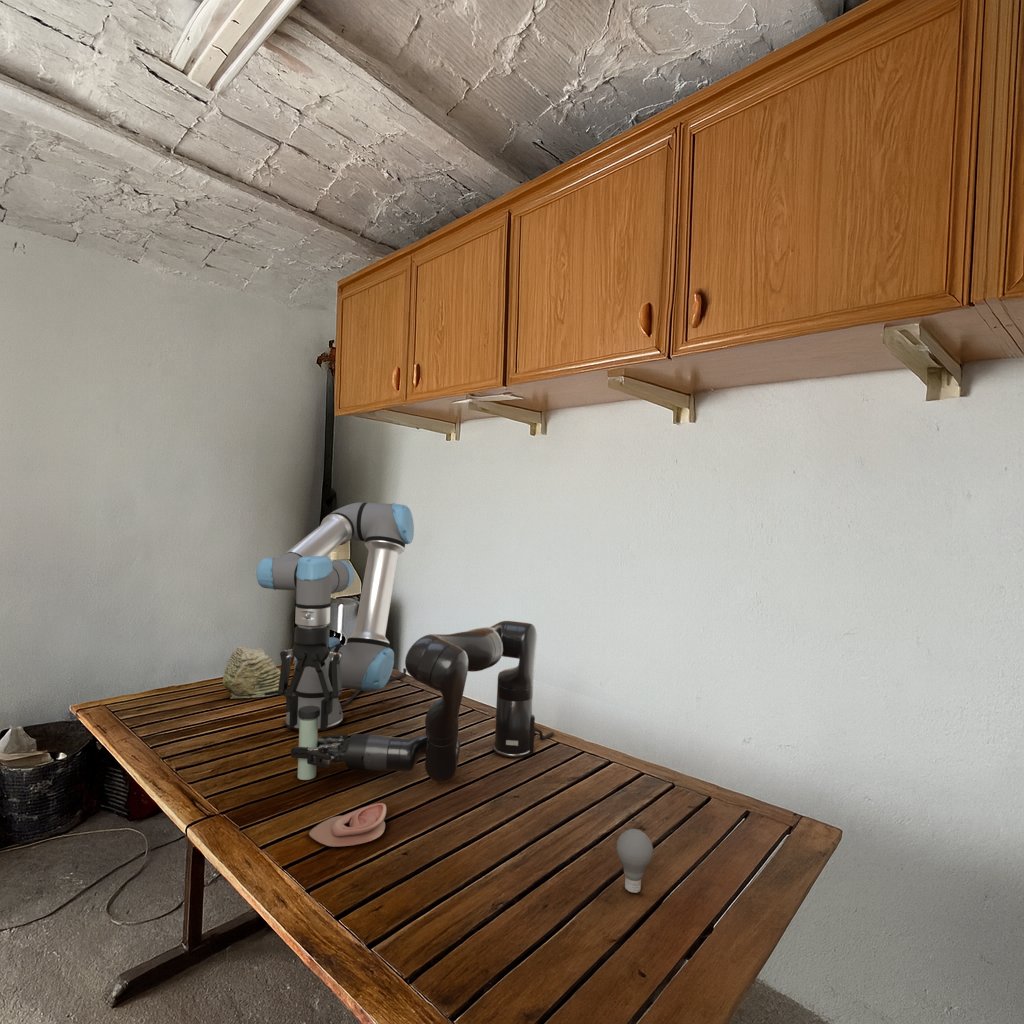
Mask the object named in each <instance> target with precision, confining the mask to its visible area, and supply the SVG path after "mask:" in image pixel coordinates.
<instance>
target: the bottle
mask: <svg viewBox="0 0 1024 1024" xmlns="http://www.w3.org/2000/svg"><path fill="white" fill-rule="evenodd" d="M318 733H319V731H318V717H317V718H314V719H301V718H300V723H299V731H298V747H309V748H310V747H311V748H312V747H317V739H318V738H319V736H318V735H319V734H318ZM315 752H318V751H315ZM315 761H316V760H315ZM316 777H317V766H315V765H311V764H307V758H297V779H299V780H301V781H309V780H313V779H315V778H316Z"/></svg>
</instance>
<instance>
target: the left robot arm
mask: <svg viewBox="0 0 1024 1024" xmlns="http://www.w3.org/2000/svg"><path fill="white" fill-rule="evenodd" d="M413 517H414V516H413V514H412V511H411V509H410V507H408V505H406V504H400V503H399V504H398V503H394V502H393V503H385V502H383V503H382V502H362V501H361V502H354V503H350V504H349V503H348V504H346V505H344V506H341V507H339V508H337V509H335V510H333V511H332V512H330V513H329V514H327V515H325V517H323V519H322V521H321V522H320V525H319V526H318V527H316V528H315V529H314V530H312V531H311V532H310V533H309V534H308V535H306V536H305V537H304V538H302V539H301V540H300V541H299V542H297V543H296V544H295V545H294V546H292V547H291V548H290V549H289V550H287V551H285V552H284V553H283V554H282V555H281V556H279V557H264V558H263V559H261V560H260V561H259V563H258V565H257V567H256V573H255V574H256V581H257V583H258V585H259V586H260V587H261V588H263V589H270V590H273V591H276V590H280V591H296V592H295V593H296V594H295V614H294V615H295V618H294V620H295V621H294V623H295V625H296V626H295V627H294V645H293V647H292V648H291V649H288V648H285V649H284V650H281V651H280V653H279V656H280V661H281V663H280V680H279V688H278V694H277V695H279V696H283V697H285V700H286V701H285V710H286V712H287V713H286V715H285V726H286V728H287V729H289V730H291V731H294V732H295V731H296V732H299V723H300V718H299V717H298V711H299V708H301V707H304V706H317V707H319V708H320V716H319V717H318V732H325V731H329V730H332V729H335V728H337V727H339V726H340V725H342V723H343V722H344V714H343V709H342V707H344V706H346V705H348V704H349V703H350V702H352V700H354V699H355V698H356V697H357V696H358V694H359V693H361V692H368V691H369V692H377V691H378V692H379V691H381V690H382V689H384V687H385V686H386V685H387V684H388V683H389V682H392V681H396V680H399V679H402V678H404V677H405V676H406V674H407V673H408V672H407V670H406V667H404V668H403V669H402V670H403V671H402V674H400V675H396V676H393V677H391V675H392V673H393V670H394V664H395V652H394V650H393V649H392V648H391V647H390V641H389V639H387V637H386V632H387V628H388V620H389V614H390V609H391V602H392V596H393V591H394V583H395V577H396V571H397V566H398V559H399V556H400V554H401V555H402V553H403V552H405V549H406V545H410V544H412V542H413V540H414V536H415V525H414V518H413ZM355 541H356V542H364V546H365V548H366V549H367V550H368V554H367V559H366V565H365V569H364V575H363V581H362V586H361V587H362V589H361V592H360V598H359V604H358V609H357V615H356V621H355V625H354V626H355V627H354V632H352V633H351V634H350V635H349V636H348V637H347V639H346V644H341V641H340V639H339V638H338V637H334V636H331V637H330V632H331V628H330V626H329V624H330V623H331V606H332V605H331V602H332V595H334V594H336V593H341V592H344V591H345V590H346V589H349V588H350V587H351V586H352V584H353V582H354V580H355V571H354V568H353V567H352V565H351V564H350V563H349V562H347V561H345V560H338V559H337V560H336V559H333V560H332V559H331V558H330V557H329V555H330V554H331V553H332V552H333V551H334V550H335V549H337V548H338V547H339V546H343V545H346V544H347V543H349V542H355ZM293 657H294V659H293V661H294V672H293V675H292V677H291V680H290V672H291V665H292V658H293ZM289 680H290V683H289ZM343 689H345V690H356V691H355V692H354V693H353V694H352V695H351V696H350V697H349V698H347V699H346V700H345V701H343V702H340V699H339V697H340V696H341V695H342V693H343V691H342V690H343Z"/></svg>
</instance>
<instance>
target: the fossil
mask: <svg viewBox="0 0 1024 1024" xmlns="http://www.w3.org/2000/svg"><path fill="white" fill-rule="evenodd" d="M280 672H281V669H279V668H278V667H277V665H276V663H275V662H274V660H273V659H272V658H271V657H270V656H269V655H268V654H267V653H266V652H265V650H264V649H263V648H260V647H258V648H251V647H247V646H246V647H245V646H238V647H237V648H236V649H235V650H233V651H232V653H231V656H230V657H229V659H228V660H227V663H226V666H225V668H224V671H223V675H222V676H223V677H222V685H223V687H224V688H225V690H226V691H228V693H229V698H230V699H250V698H264V697H271V696H275V695H279V694H278V688H279V680H280Z"/></svg>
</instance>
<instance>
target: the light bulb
mask: <svg viewBox="0 0 1024 1024" xmlns="http://www.w3.org/2000/svg"><path fill="white" fill-rule="evenodd" d="M615 849H616V854H617V857H618V859H619V861H620V863H621V865H622V867H623V873H624V874H623V875H624V876H625V878H624V888H625V890H627V891H628V892H630V893H634V894H635V893H639V892H640V891H641V889H642V887H641V886H642V879H643V877H644V875H645V871H646V868H647V867H648V866H649V864H650V863H651V861H652V859H653V855H654V847H653V843H652V841H651V838H649V836H648V835H647V834H646V833H645V832H643V831H642V830H641V829H636V828H629V829H627V830H625V831H623V832H622V833H621V834H620V835H619V837H618V839H617V841H616V847H615Z"/></svg>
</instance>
